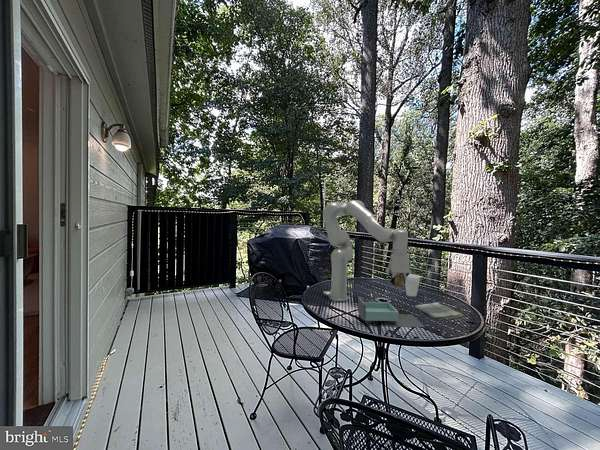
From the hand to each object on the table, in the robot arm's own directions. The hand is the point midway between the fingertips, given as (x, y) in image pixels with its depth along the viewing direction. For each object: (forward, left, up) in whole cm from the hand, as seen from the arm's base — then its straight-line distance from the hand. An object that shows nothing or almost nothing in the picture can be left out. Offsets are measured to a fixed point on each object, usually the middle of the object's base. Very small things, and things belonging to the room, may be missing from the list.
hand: (397, 284), depth 166 cm
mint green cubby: (-14, -14, -15) cm, 25 cm away
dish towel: (+24, -1, -16) cm, 29 cm away
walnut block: (0, 0, -1) cm, 1 cm away
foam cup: (+21, +30, -16) cm, 40 cm away
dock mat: (-2, -14, -15) cm, 21 cm away
